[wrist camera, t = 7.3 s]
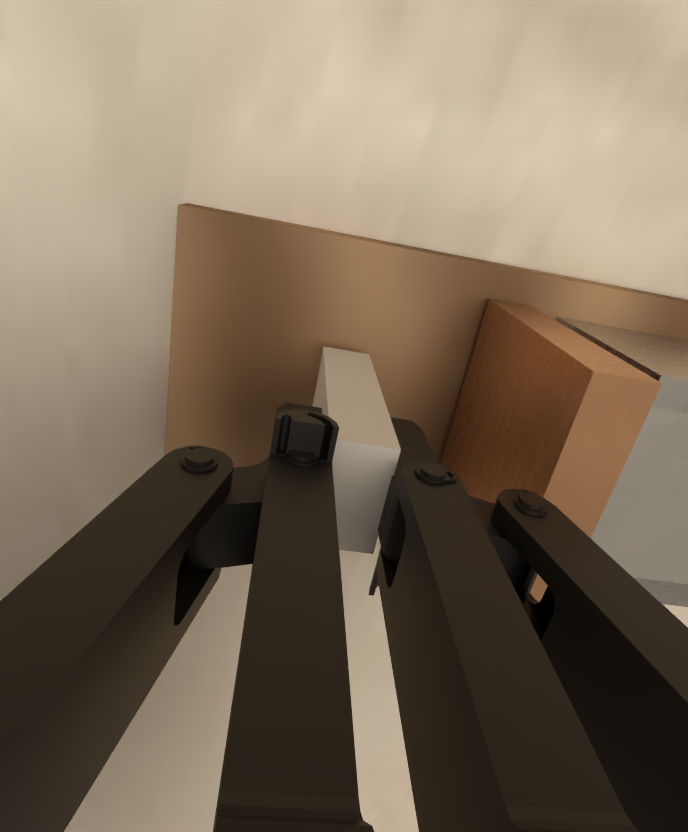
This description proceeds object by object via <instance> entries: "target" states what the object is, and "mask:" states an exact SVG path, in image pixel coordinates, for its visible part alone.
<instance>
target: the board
mask: <svg viewBox="0 0 688 832" xmlns="http://www.w3.org/2000/svg"><path fill="white" fill-rule="evenodd" d="M489 299H492V300H498V301H503V302H508V303H514V304H519V305H525V306H530V307H534V308H535V309H537V310H539V311H540V312H542V313H544V314H545V315H547V316H549V317H551V318H552V319H554V320H556V318H557V316H558V317H563V318H569V319H574V320H580V321H585V322H591V323H596V324H602V325H607V326H613V327H618V328H623V329H629V330H634V331H640V332H645V333H651V334H656V335H662V336H667V337H673V338H678V339H684V340H688V300H685V299H680V298H675V297H670V296H664V295H659V294H654V293H649V292H644V291H639V290H633V289H628V288H623V287H618V286H613V285H607V284H602V283H597V282H592V281H587V280H582V279H576V278H571V277H566V276H561V275H556V274H550V273H545V272H540V271H535V270H530V269H525V268H519V267H514V266H509V265H504V264H499V263H494V262H488V261H483V260H478V259H473V258H468V257H462V256H457V255H452V254H447V253H442V252H437V251H431V250H426V249H421V248H416V247H411V246H406V245H400V244H395V243H390V242H385V241H380V240H374V239H369V238H364V237H359V236H354V235H349V234H343V233H338V232H333V231H328V230H323V229H318V228H312V227H307V226H302V225H297V224H292V223H286V222H281V221H276V220H271V219H266V218H261V217H255V216H250V215H245V214H240V213H235V212H229V211H224V210H219V209H214V208H209V207H204V206H198V205H193V204H188V203H187V204H181V205H178V218H177V236H176V255H175V274H174V292H173V311H172V330H171V348H170V367H169V385H168V404H167V423H166V441H165V455H166V454H168V453H169V452H171V451H173V450H175V449H178V448H182V447H186V446H194V445H195V446H197V445H198V446H205V447H209V448H214V449H217V450H219V451H222V452H224V453H225V454H227V455H228V456H229V457H230V458H231V459H232V462H233V464H234V467H246V466H252V465H256V464H259V463H261V462H263V461H264V460H265V459H266V458H267V457H268V456H269V454H270V448H271V442H272V435H273V429H274V422H275V416H276V409H277V408H278V407H280V406H281V405H282V404H284V403H285V402H287V403H293V404H300V405H306V406H313V401H314V395H315V390H316V385H317V379H318V374H319V368H320V363H321V357H322V352H323V346H324V347H330V348H336V349H342V350H347V351H353V352H359V353H365V354H369V355H370V358H371V361H372V364H373V367H374V370H375V373H376V376H377V379H378V382H379V385H380V388H381V391H382V394H383V397H384V400H385V403H386V406H387V409H388V412H389V415H390V417H393V418H399V419H405V420H412V421H413V422H414V423H415V424H416V425H418V426H419V427H420V428H421V429H422V430H423V432H424V434H425V436H426V439H427V440H426V441H428V443H429V445H430V448H431V450H432V452H433V454H434V457H435V459H436V461H437V463H438V464H439V465H440V462H441V458H442V455H443V451H444V448H445V445H446V441H447V438H448V435H449V431H450V428H451V425H452V421H453V418H454V414H455V411H456V408H457V404H458V401H459V398H460V394H461V391H462V388H463V384H464V381H465V378H466V374H467V371H468V367H469V364H470V361H471V357H472V354H473V351H474V347H475V344H476V341H477V337H478V334H479V330H480V327H481V324H482V320H483V317H484V314H485V310H486V307H487V304H488V300H489Z"/></svg>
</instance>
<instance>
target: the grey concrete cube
mask: <svg viewBox="0 0 688 832" xmlns="http://www.w3.org/2000/svg"><path fill="white" fill-rule="evenodd" d="M556 321H557V322H559V323H561V324H562V325H564V326H566V327H567V328H569V329H571V330H573V331H574V332H576V333H578V334H579V335H581V336H583V337H584V338H586V339H588V340H590V341H591V342H593V343H595V344H596V345H598V346H600V347H601V348H603V349H605V350H606V351H608V352H610V353H612V354H613V355H615V356H617V357H618V358H620V359H622V360H623V361H625V362H627V363H629V364H630V365H632V366H634V367H635V368H637V369H639V370H640V371H642V372H644V373H645V374H647V375H649V376H651V377H652V378H654V379H656V380H657V381H659V382H661V383H662V385H661V387H660V389H659V392H658V394H657V396H656V398H655V400H654V402H653V405H652V407H651V409H650V411H649V413H648V415H647V418H646V420H645V422H644V424H643V426H642V428H641V431H640V433H639V435H638V437H637V439H636V441H635V444H634V446H633V448H632V450H631V452H630V454H629V457H628V459H627V461H626V463H625V465H624V467H623V470H622V472H621V474H620V476H619V478H618V480H617V483H616V485H615V487H614V489H613V491H612V493H611V496H610V498H609V500H608V502H607V504H606V506H605V509H604V511H603V513H602V515H601V517H600V519H599V522H598V524H597V526H596V528H595V530H594V532H593V535H592V537H591V539H592V540H593V541H594V542H595V543H596V544H597V545H598V546H599V547H600V548H602V549H603V550H604V551H605V552H606V553H607V554H608V555H609V556H610V557H611V558H612V559H614V560H615V561H616V562H617V563H618V564H619V565H620V566H621V567H622V568H623V569H624V570H625V571H627V572H628V573H629V574H630V575H631V576H632V577H633V578H634V579H635V580H636V581H637V582H639V583H640V584H641V585H642V586H643V587H644V588H645V589H646V590H647V591H648V592H649V593H650V594H652V595H653V596H654V597H655V598H656V599H657V600H658V601H659V602H660V603H661V604H668V605H676V606H685V607H688V340H684V339H678V338H673V337H667V336H662V335H656V334H651V333H645V332H640V331H634V330H629V329H623V328H618V327H613V326H607V325H602V324H596V323H591V322H585V321H580V320H574V319H569V318H563V317H558V316H557V318H556Z"/></svg>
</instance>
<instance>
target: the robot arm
mask: <svg viewBox="0 0 688 832" xmlns="http://www.w3.org/2000/svg"><path fill="white" fill-rule="evenodd" d="M426 440H427V439H426V436H425V434H424V432H423V430H422V429H421V428H420V427H419V426H418V425H416V424H415V423H414V422H413V421H412V420H405V419H399V418H393V417H390V415H389V412H388V409H387V406H386V403H385V400H384V397H383V394H382V391H381V388H380V385H379V382H378V379H377V376H376V373H375V370H374V367H373V364H372V361H371V358H370V355H369V354H365V353H359V352H353V351H347V350H342V349H336V348H330V347H324V346H323V352H322V357H321V363H320V368H319V374H318V379H317V385H316V390H315V395H314V401H313V406H306V405H300V404H293V403H287V402H285V403H284V404H282V405H281V406H280V407H278V408H277V409H276V416H275V422H274V429H273V435H272V442H271V448H270V454H269V456H268V457H267V458H266V459H265V460H264V461H263V462H261V463H259V464H256V465H252V466H246V467H234V464H233V462H232V459H231V458H230V457H229V456H228V455H227V454H225V453H224V452H222V451H219V450H217V449H214V448H209V447H205V446H198V445H197V446H195V445H194V446H186V447H182V448H178V449H175V450H173V451H171V452H169V453H168V454H166V455H165V456H164V457H163V458H162V459H160V460H159V461H158V462H157V463H156V464H155V465H154V466H153V467H151V468H150V469H149V470H148V471H147V472H146V473H145V474H144V475H142V476H141V477H140V478H139V479H138V480H137V481H136V482H134V483H133V484H132V485H131V486H130V487H129V488H128V489H127V490H125V491H124V492H123V493H122V494H121V495H120V496H119V497H118V498H116V499H115V500H114V501H113V502H112V503H111V504H110V505H109V506H107V507H106V508H105V509H104V510H103V511H102V512H101V513H99V514H98V515H97V516H96V517H95V518H94V519H93V520H92V521H90V522H89V523H88V524H87V525H86V526H85V527H84V528H83V529H81V530H80V531H79V532H78V533H77V534H76V535H75V536H73V537H72V538H71V539H70V540H69V541H68V542H67V543H66V544H64V545H63V546H62V547H61V548H60V549H59V550H58V551H57V552H55V553H54V554H53V555H52V556H51V557H50V558H49V559H47V560H46V561H45V562H44V563H43V564H42V565H41V566H40V567H38V568H37V569H36V570H35V571H34V572H33V573H32V574H31V575H29V576H28V577H27V578H26V579H25V580H24V581H23V582H21V583H20V584H19V585H18V586H17V587H16V588H15V589H14V590H12V591H11V592H10V593H9V594H8V595H7V596H6V597H5V598H3V599H2V600H1V601H0V832H64V830H65V829H66V827H67V826H68V824H69V822H70V821H71V819H72V817H73V816H74V814H75V812H76V811H77V809H78V807H79V806H80V804H81V803H82V801H83V799H84V798H85V796H86V794H87V793H88V791H89V789H90V788H91V786H92V785H93V783H94V781H95V780H96V778H97V776H98V775H99V773H100V771H101V770H102V768H103V767H104V765H105V763H106V762H107V760H108V758H109V757H110V755H111V753H112V752H113V750H114V748H115V747H116V745H117V744H118V742H119V740H120V739H121V737H122V735H123V734H124V732H125V730H126V729H127V727H128V726H129V724H130V722H131V721H132V719H133V717H134V716H135V714H136V712H137V711H138V709H139V708H140V706H141V704H142V703H143V701H144V699H145V698H146V696H147V694H148V693H149V691H150V689H151V688H152V686H153V685H154V683H155V681H156V680H157V678H158V676H159V675H160V673H161V671H162V670H163V668H164V667H165V665H166V663H167V662H168V660H169V658H170V657H171V655H172V653H173V652H174V650H175V649H176V647H177V645H178V644H179V642H180V640H181V639H182V637H183V635H184V634H185V632H186V630H187V629H188V627H189V626H190V624H191V622H192V621H193V619H194V617H195V616H196V614H197V612H198V611H199V609H200V608H201V606H202V604H203V603H204V601H205V599H206V598H207V596H208V594H209V593H210V591H211V589H212V588H213V586H214V585H215V583H216V581H217V580H218V578H219V574H220V571H221V568H222V567H230V566H238V565H246V564H253V566H252V573H251V579H250V586H249V593H248V600H247V606H246V613H245V620H244V626H243V633H242V640H241V646H240V653H239V660H238V667H237V673H236V680H235V687H234V693H233V700H232V707H231V714H230V720H229V727H228V734H227V740H226V747H225V754H224V761H223V767H222V774H221V781H220V787H219V794H218V801H217V808H216V814H215V821H214V828H213V832H374V830H373V827H372V826H371V825H370V824H368V823H366V822H365V821H363V819H362V815H361V812H360V805H359V797H358V784H357V772H356V759H355V746H354V734H353V721H352V708H351V696H350V683H349V670H348V658H347V645H346V632H345V620H344V607H343V594H342V581H341V569H340V556H339V550H346V551H355V552H363V553H371V554H373V552H374V549H375V545H376V541H377V537H378V534H379V539H380V544H381V548H380V552H379V556H378V559H377V563H376V567H375V570H374V574H373V578H372V582H371V585H370V590H369V595H373V596H374V593H375V589H376V587H377V586H379V589H380V595H381V601H382V607H383V613H384V620H385V626H386V632H387V638H388V644H389V650H390V656H391V663H392V669H393V675H394V681H395V687H396V693H397V699H398V706H399V712H400V718H401V724H402V730H403V736H404V742H405V748H406V755H407V761H408V767H409V773H410V779H411V785H412V791H413V798H414V804H415V810H416V816H417V822H418V828H419V832H688V628H687V627H686V626H685V625H684V624H683V623H682V622H681V621H680V620H679V619H678V618H677V617H675V616H674V615H673V614H672V613H671V612H670V611H669V610H668V609H667V608H666V607H665V606H663V605H662V604H661V603H660V602H659V601H658V600H657V599H656V598H655V597H654V596H653V595H652V594H650V593H649V592H648V591H647V590H646V589H645V588H644V587H643V586H642V585H641V584H640V583H639V582H637V581H636V580H635V579H634V578H633V577H632V576H631V575H630V574H629V573H628V572H627V571H625V570H624V569H623V568H622V567H621V566H620V565H619V564H618V563H617V562H616V561H615V560H614V559H612V558H611V557H610V556H609V555H608V554H607V553H606V552H605V551H604V550H603V549H602V548H600V547H599V546H598V545H597V544H596V543H595V542H594V541H593V540H592V539H591V538H590V537H589V536H587V535H586V534H585V533H584V532H583V531H582V530H581V529H580V528H579V527H578V526H577V525H576V524H574V523H573V522H572V521H571V520H570V519H569V518H568V517H567V516H566V515H565V514H564V513H562V512H561V511H560V510H559V509H558V508H557V507H556V506H555V505H553V504H552V503H551V502H549V501H548V500H547V499H545V498H543V497H541V496H539V495H538V494H537V493H535V492H532V491H530V492H529V491H528V490H525V489H513V488H511V489H505V490H503V491H501V492H500V493H499V494H498V497H497V500H496V503H495V504H494V503H491V502H488V501H484V500H481V499H478V498H475V497H472V496H470V495H468V494H467V492H466V490H465V488H464V486H463V483H462V481H461V480H460V479H459V477H458V476H457V475H456V474H455V473H454V472H452V471H451V470H449V469H448V468H446V467H443V466H441V465H439V464H438V463H437V461H436V459H435V457H434V454H433V452H432V450H431V448H430V445H429V443H428V441H426ZM537 575H539V576H540V577H541V578H542V580H543V581H544V582H545V583H546V584H547V585H548V586H547V588H546V590H545V593H544V595H543V597H542V599H541V600H540V602H538V601H537V600H536V599H535V598H534V597H533V596H532V595H531V593H530V591H531V589H532V587H533V584H534V582H535V580H536V577H537Z"/></svg>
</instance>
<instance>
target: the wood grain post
mask: <svg viewBox="0 0 688 832" xmlns="http://www.w3.org/2000/svg"><path fill="white" fill-rule="evenodd" d="M661 385H662V383H661V382H659V381H657V380H656V379H654V378H652V377H651V376H649V375H647V374H645V373H644V372H642V371H640V370H639V369H637V368H635V367H634V366H632V365H630V364H629V363H627V362H625V361H623V360H622V359H620V358H618V357H617V356H615V355H613V354H612V353H610V352H608V351H606V350H605V349H603V348H601V347H600V346H598V345H596V344H595V343H593V342H591V341H590V340H588V339H586V338H584V337H583V336H581V335H579V334H578V333H576V332H574V331H573V330H571V329H569V328H567V327H566V326H564V325H562V324H561V323H559V322H557V321H556V320H554V319H552V318H551V317H549V316H547V315H545V314H544V313H542V312H540V311H539V310H537V309H535V308H534V307H530V306H525V305H519V304H514V303H508V302H503V301H498V300H492V299H489V300H488V304H487V307H486V310H485V314H484V317H483V320H482V324H481V327H480V330H479V334H478V337H477V341H476V344H475V347H474V351H473V354H472V357H471V361H470V364H469V367H468V371H467V374H466V378H465V381H464V384H463V388H462V391H461V394H460V398H459V401H458V404H457V408H456V411H455V414H454V418H453V421H452V425H451V428H450V431H449V435H448V438H447V441H446V445H445V448H444V451H443V455H442V458H441V462H440V465H441V466H443V467H446V468H448V469H449V470H451V471H452V472H454V473H455V474H456V475H457V476H458V477H459V479H460V480H461V481H462V483H463V486H464V488H465V490H466V492H467V494H468V495H470V496H472V497H475V498H478V499H481V500H484V501H488V502H491V503H494V504H495V503H496V500H497V497H498V494H499V493H500V492H501V491H503V490H505V489H511V488H513V489H525V490H528V491H529V492H530V491H532V492H535V493H537V494H538V495H539V496H541V497H543V498H545V499H547V500H548V501H549V502H551V503H552V504H553V505H555V506H556V507H557V508H558V509H559V510H560V511H561V512H562V513H564V514H565V515H566V516H567V517H568V518H569V519H570V520H571V521H572V522H573V523H574V524H576V525H577V526H578V527H579V528H580V529H581V530H582V531H583V532H584V533H585V534H586V535H587V536H589V537H590V538H591V537H592V535H593V532H594V530H595V528H596V526H597V524H598V522H599V519H600V517H601V515H602V513H603V511H604V509H605V506H606V504H607V502H608V500H609V498H610V496H611V493H612V491H613V489H614V487H615V485H616V483H617V480H618V478H619V476H620V474H621V472H622V470H623V467H624V465H625V463H626V461H627V459H628V457H629V454H630V452H631V450H632V448H633V446H634V444H635V441H636V439H637V437H638V435H639V433H640V431H641V428H642V426H643V424H644V422H645V420H646V418H647V415H648V413H649V411H650V409H651V407H652V405H653V402H654V400H655V398H656V396H657V394H658V392H659V389H660V387H661ZM547 586H548V585H547V584H546V583H545V582H544V581H543V580H542V578H541V577H540V576H539V575H537V577H536V580H535V582H534V584H533V587H532V589H531V591H530V593H531V595H532V596H533V597H534V598H535V599H536V600H537V601H538V602H540V600H541V599H542V597H543V595H544V593H545V590H546V588H547Z"/></svg>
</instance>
